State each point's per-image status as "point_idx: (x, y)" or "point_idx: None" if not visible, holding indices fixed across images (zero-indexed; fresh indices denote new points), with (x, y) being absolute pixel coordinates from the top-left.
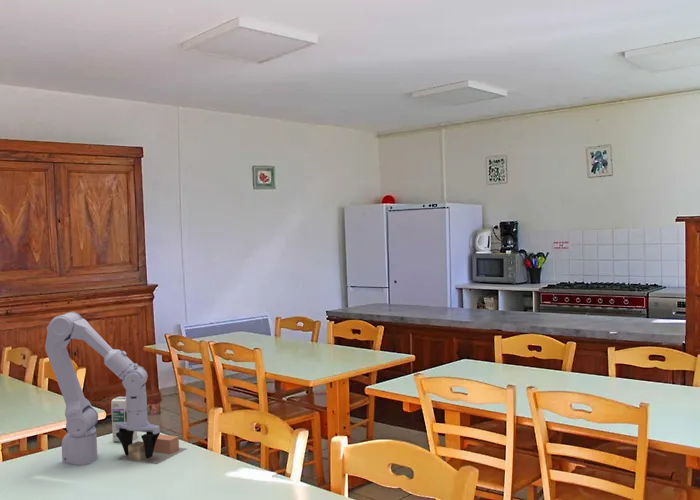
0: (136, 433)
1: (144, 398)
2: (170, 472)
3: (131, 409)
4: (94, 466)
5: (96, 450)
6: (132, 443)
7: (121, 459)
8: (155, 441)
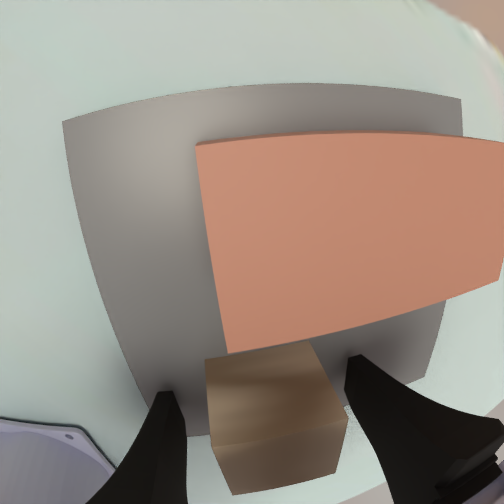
0: None
1: None
2: (474, 355)
3: None
4: None
5: (78, 495)
6: (226, 478)
7: (188, 436)
8: (438, 410)
